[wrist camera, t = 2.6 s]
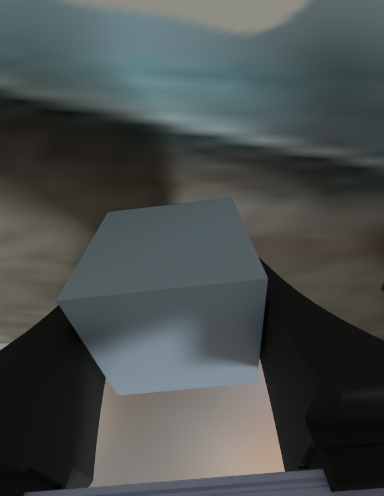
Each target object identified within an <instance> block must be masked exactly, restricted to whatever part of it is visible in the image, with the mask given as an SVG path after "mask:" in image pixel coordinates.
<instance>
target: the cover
mask: <svg viewBox="0 0 384 496" xmlns="http://www.w3.org/2000/svg"><path fill="white" fill-rule="evenodd" d="M267 283H268V277H267V275H266V273H265V271H264V268H263V266H262V264H261V262H260V260H259V257H258V255H257V253H256V251H255V249H254V247H253V244H252V242H251V240H250V238H249V236H248V233H247V231H246V229H245V227H244V225H243V222H242V220H241V218H240V216H239V214H238V211H237V209H236V207H235V205H234V203H233V200H232V198H224V199H215V200H207V201H198V202H190V203H181V204H172V205H164V206H155V207H147V208H138V209H130V210H121V211H113V212H108V213H107V215H106V216H105V218H104V220H103V221H102V223H101V225H100V227H99V228H98V230H97V232H96V233H95V235H94V237H93V239H92V240H91V242H90V244H89V246H88V247H87V249H86V251H85V252H84V254H83V256H82V258H81V259H80V261H79V263H78V264H77V266H76V268H75V270H74V271H73V273H72V275H71V276H70V278H69V280H68V282H67V283H66V285H65V287H64V288H63V290H62V292H61V294H60V295H59V297H58V299H57V300H56V301H57V303H58V304H59V306H60V307H61V309H62V310H63V312H64V314H65V315H66V317H67V318H68V320H69V321H70V323H71V324H72V326H73V327H74V329H75V330H76V332H77V334H78V335H79V337H80V338H81V340H82V341H83V343H84V344H85V346H86V347H87V349H88V351H89V352H90V354H91V355H92V357H93V358H94V360H95V361H96V363H97V364H98V366H99V367H100V369H101V371H102V372H103V374H104V375H105V377H106V378H107V380H108V381H109V383H110V384H111V386H112V387H113V389H114V390H115V392H116V394H117V395H129V394H139V393H150V392H161V391H171V390H182V389H193V388H203V387H214V386H225V385H236V384H246V383H256V382H257V374H258V365H259V356H260V347H261V338H262V328H263V319H264V310H265V301H266V292H267Z"/></svg>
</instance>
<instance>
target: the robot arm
mask: <svg viewBox="0 0 384 496" xmlns="http://www.w3.org/2000/svg"><path fill="white" fill-rule="evenodd" d="M259 260H260V262H261V264H262V266H263V268H264V271H265V273H266V275H267V277H268V283H267V292H266V301H265V310H264V319H263V328H262V338H261V347H260V360H261V364H262V368H263V373H264V377H265V381H266V385H267V390H268V394H269V398H270V402H271V407H272V411H273V416H274V421H275V425H276V430H277V435H278V439H279V444H280V449H281V454H282V459H283V464H284V469H285V472H278V473H265V474H253V475H241V476H229V477H228V476H227V477H215V478H202V479H190V480H177V481H166V482H152V483H140V484H127V485H114V486H102V487H89V486H90V484H91V483H92V481H93V474H94V463H95V453H96V443H97V434H98V426H99V418H100V410H101V404H102V397H103V391H104V385H105V379H106V377H105V375H104V374H103V372H102V371H101V369H100V367H99V366H98V364H97V363H96V361H95V360H94V358H93V357H92V355H91V354H90V352H89V351H88V349H87V347H86V346H85V344H84V343H83V341H82V340H81V338H80V337H79V335H78V334H77V332H76V330H75V329H74V327H73V326H72V324H71V323H70V321H69V320H68V318H67V317H66V315H65V314H64V312H63V310H62V309H61V307H60V306H59V305H58V306H57V307H56V308H55V309H54V310H53V311H52V312H50V313H49V314H48V315H47V316H46V317H44V318H43V319H42V320H41V321H40V322H38V323H37V324H36V325H35V326H33V327H32V328H31V329H29V330H28V331H27V332H25V333H24V334H23V335H21V336H20V337H19V338H17V339H16V340H14V341H13V342H11V343H10V344H9V345H7V346H6V347H4V348H3V349H2V350H0V496H384V340H381V339H379V338H377V337H375V336H373V335H371V334H369V333H367V332H365V331H363V330H361V329H359V328H357V327H355V326H353V325H351V324H349V323H347V322H346V321H344V320H342V319H340V318H338V317H337V316H335V315H333V314H332V313H330V312H328V311H326V310H325V309H323V308H322V307H320V306H318V305H317V304H315V303H314V302H312V301H311V300H309V299H308V298H306V297H305V296H304V295H302V294H301V293H299V292H298V291H297V290H295V289H294V288H293V287H292V286H290V285H289V284H288V283H287V282H285V281H284V280H283V279H282V278H281V277H280V276H278V275H277V274H276V273H275V272H274V271H273V270H272V269H271V268H270V267H269V266H268V265H266V264H265V263H264V262H263V261H262V260H261V259H260V258H259ZM88 487H89V488H88Z"/></svg>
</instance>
